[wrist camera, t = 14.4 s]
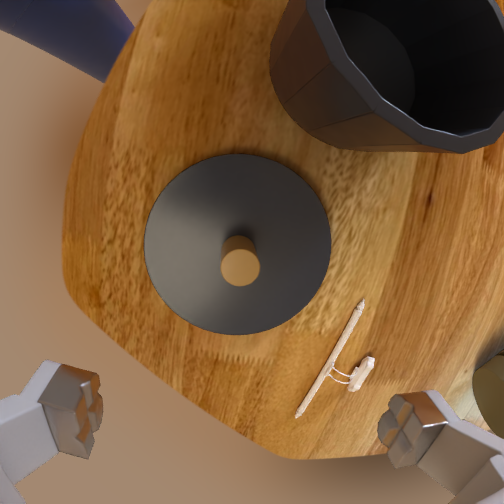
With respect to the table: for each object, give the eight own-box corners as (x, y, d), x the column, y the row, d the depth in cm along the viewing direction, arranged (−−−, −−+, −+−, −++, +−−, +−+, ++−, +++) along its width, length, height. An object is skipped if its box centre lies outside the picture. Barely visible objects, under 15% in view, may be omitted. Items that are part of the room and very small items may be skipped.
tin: (240, 102, 21) (253, 50, 10) (307, -20, 18) (354, -105, 7) (387, 179, 23) (488, 200, 12) (434, 57, 20) (527, 27, 9)
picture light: (359, 296, 26) (368, 307, 24) (396, 309, 27) (407, 319, 25) (291, 415, 29) (295, 429, 27) (328, 420, 30) (333, 434, 28)
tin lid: (125, 290, 24) (107, 317, 20) (189, 124, 21) (179, 116, 17) (278, 348, 27) (288, 382, 22) (355, 202, 24) (383, 213, 19)
